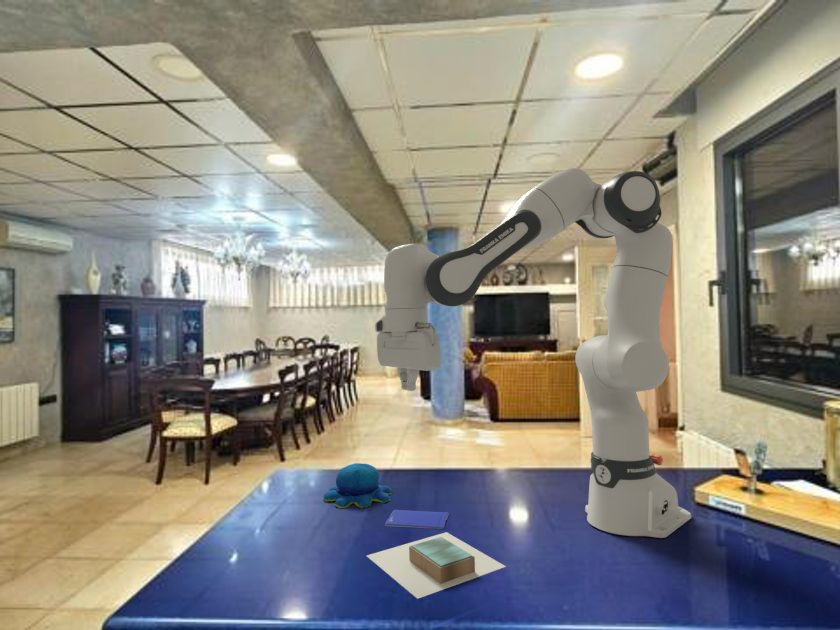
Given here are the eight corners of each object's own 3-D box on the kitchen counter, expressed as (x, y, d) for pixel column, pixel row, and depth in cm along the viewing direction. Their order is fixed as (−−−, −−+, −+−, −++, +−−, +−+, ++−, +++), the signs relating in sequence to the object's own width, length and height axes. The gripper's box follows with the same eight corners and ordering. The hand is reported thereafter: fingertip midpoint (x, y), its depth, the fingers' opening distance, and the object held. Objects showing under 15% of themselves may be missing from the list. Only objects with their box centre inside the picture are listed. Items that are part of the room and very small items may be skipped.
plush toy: (317, 510, 121) (316, 474, 121) (332, 487, 138) (331, 455, 138) (388, 509, 120) (387, 473, 120) (394, 486, 137) (393, 454, 137)
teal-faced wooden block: (441, 535, 96) (474, 555, 87) (441, 550, 96) (475, 571, 87) (409, 545, 92) (440, 567, 84) (409, 560, 92) (440, 583, 84)
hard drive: (384, 523, 108) (443, 526, 106) (394, 508, 116) (448, 511, 114) (385, 530, 108) (443, 533, 106) (394, 515, 116) (448, 518, 114)
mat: (446, 534, 104) (446, 532, 104) (506, 568, 89) (506, 566, 89) (366, 557, 95) (366, 555, 95) (417, 601, 79) (417, 598, 79)
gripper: (448, 321, 99) (450, 393, 99) (396, 323, 117) (398, 384, 116) (420, 322, 96) (422, 397, 96) (371, 324, 113) (373, 387, 113)
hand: (408, 390), depth 106 cm, fingers closed
